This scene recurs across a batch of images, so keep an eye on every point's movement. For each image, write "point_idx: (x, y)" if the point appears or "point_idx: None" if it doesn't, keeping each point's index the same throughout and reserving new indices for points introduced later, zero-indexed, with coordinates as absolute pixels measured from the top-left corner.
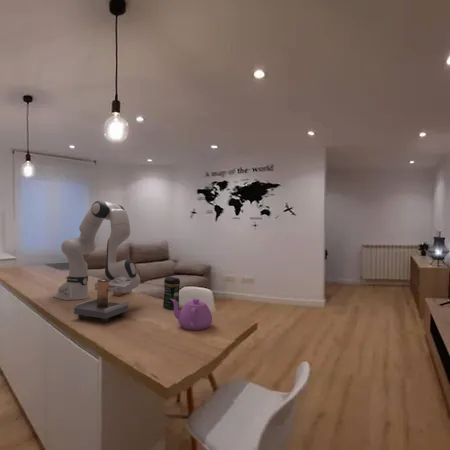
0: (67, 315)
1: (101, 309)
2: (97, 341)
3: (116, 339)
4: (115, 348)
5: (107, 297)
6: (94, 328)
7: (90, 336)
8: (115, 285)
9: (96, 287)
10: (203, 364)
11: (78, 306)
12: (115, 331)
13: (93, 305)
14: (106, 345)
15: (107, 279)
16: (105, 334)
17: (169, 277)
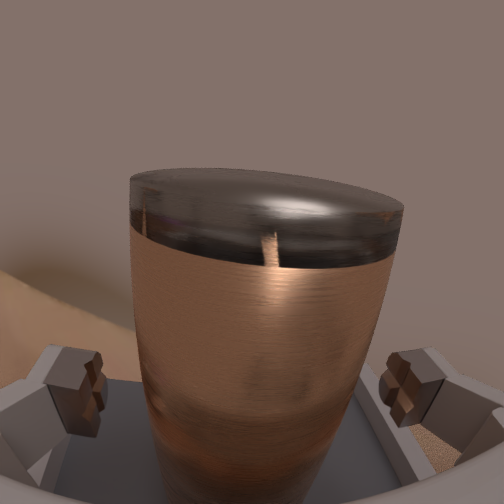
0: (437, 443)
1: None
2: (56, 304)
3: (7, 319)
4: (5, 287)
5: (158, 463)
6: (123, 379)
7: (93, 322)
8: (6, 482)
9: (395, 354)
10: None
11: (356, 389)
12: (21, 367)
13: (331, 483)
14: (27, 293)
15: (222, 194)
16: (49, 341)
17: None
